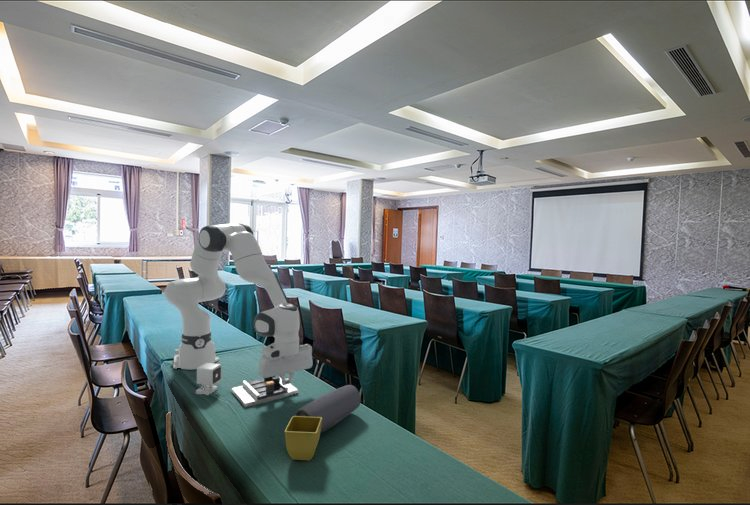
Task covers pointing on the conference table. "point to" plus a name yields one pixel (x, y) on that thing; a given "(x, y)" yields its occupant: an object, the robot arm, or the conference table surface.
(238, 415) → the conference table surface
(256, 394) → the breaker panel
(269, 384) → the handle
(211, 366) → the security camera
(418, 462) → the conference table surface
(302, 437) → the flower pot
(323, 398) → the bluetooth speaker
